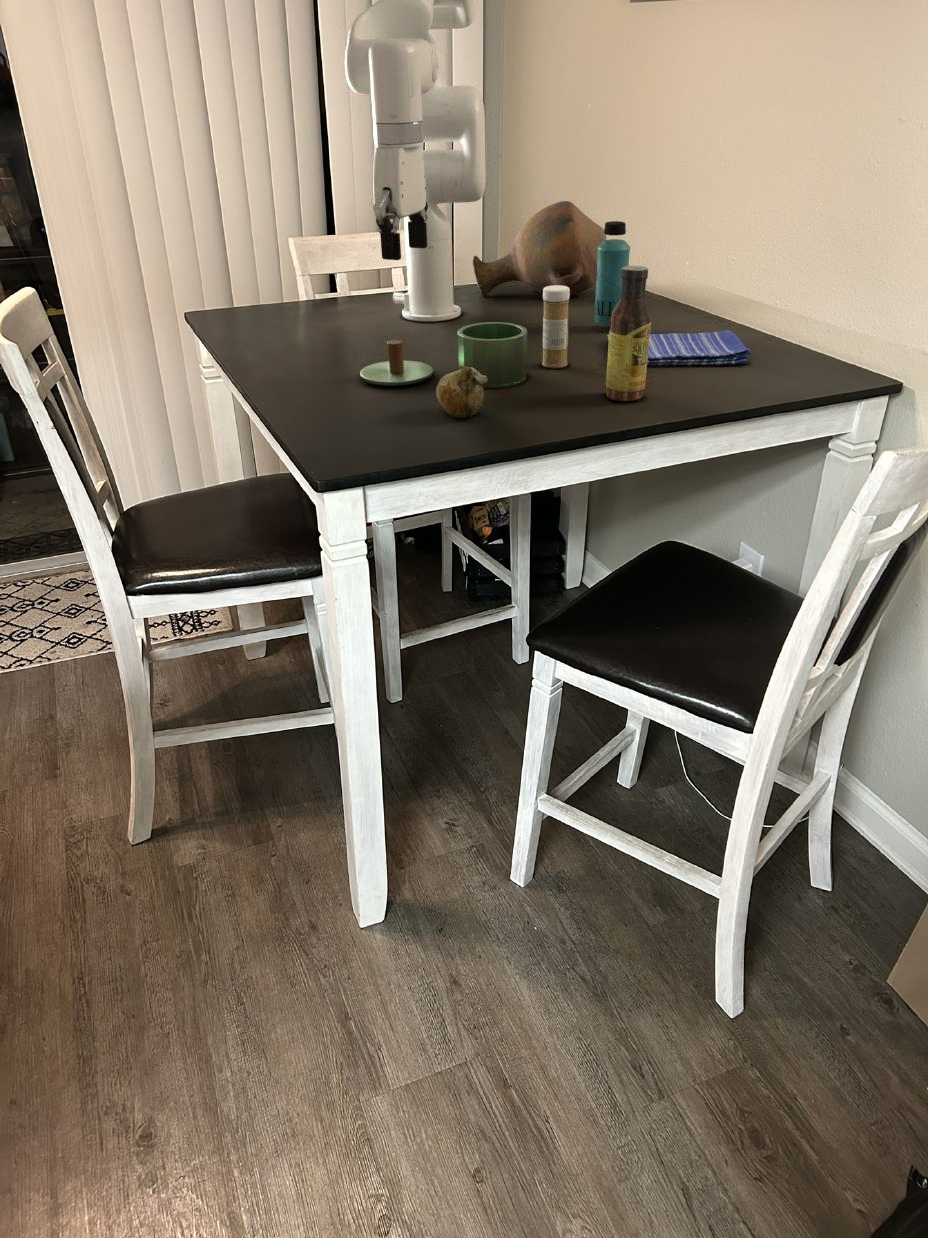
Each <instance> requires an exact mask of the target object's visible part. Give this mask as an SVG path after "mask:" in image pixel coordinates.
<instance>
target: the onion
mask: <svg viewBox="0 0 928 1238" xmlns="http://www.w3.org/2000/svg"><path fill="white" fill-rule="evenodd" d="M461 368H462V369H461V370H459V369H458V370H453V371H451V372H450V373H449V372H448V373H447V374H445V375H443V376H442V377H440V380H439V381H438V383H437V386H436V389H435V393H436V397H437V400H438V402H439V405H441V408H443V409H444V410H445V411H446V413H447V414H448V415H450V416H452V417H454V418H459V419H463V418H469V417H472V416H473V415H475V414H476V413H477V412H478V411H480V410H481V408H482V406H483V404H484V399H485V391H484V389H485V388H482V386H479V384H481V385H483V384H484V383H485V382H487V380H488V378H487V377H486V376H483V375H481V374H480V373H479V372H478V371H477V370H475V369H474V368H473V367H468V366H461ZM478 383H479V384H478Z"/></svg>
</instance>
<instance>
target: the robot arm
mask: <svg viewBox="0 0 928 1238" xmlns="http://www.w3.org/2000/svg"><path fill="white" fill-rule="evenodd" d="M477 6H478V0H378V1H376V2H375V3H374V4H372V5H370V6H369V7H367V8H366V9H365V10H363V11H362V12H361V13H360V14H359V15H357V16H356V18H355V19H354V20H353V21H352V22H351V26H350V29H349V31H348V35H347V41H346V48H345V54H344V72H345V77H346V82H347V83H348V86H349V88H350V89H351V90H352V91H353V92H354V93H355V94H357V95H360V96H371V109H372V123H373V140H374V152H373V153H374V154H373V170H372V171H373V175H372V178H373V179H372V181H373V183H372V184H373V212H374V216H375V222H376V225H377V226H378V233H379V236H380V250H381V259H383V260H385V261H386V260H387V261H399V260H401V259H402V248H401V247H402V246H401V245H402V244H401V233H400V232H398V229H399V227H400V221H401V219H403V223H404V236H405V238H404V239H405V255H406V274H407V275H406V276H407V292H406V293H403V292H393V294H392V301H393V304H396V305H403V306H404V307H403V308H402V311H401V314H402V315H401V316H402V317H403V318H404V319H406V320H410V321H414V322H425V323H426V322H427V323H429V322H432V323H433V322H442V321H449V320H453V319H456V318H458V317H460V316H461V314H462V310H461V309H462V308H461V307H460V306H459V305H457V304H454V272H453V241H452V240H453V239H452V238H453V237H452V226H451V223H450V221H449V219H448V217H447V216H446V214H445V213H444V212H443V211H442V209H441V208H440V207H439V206H438V205H439V204H445V203H446V204H454V203H455V204H456V203H458V204H459V203H460V204H461V203H475V202H478V201H480V200H481V199H482V198H483V197H484V194H485V190H486V184H487V183H486V181H487V180H486V179H487V178H486V177H487V175H486V174H487V171H486V169H487V167H486V118H485V106H484V105H485V104H484V100H483V96H482V94H481V93H480V91H479V90H478V88H476V87H474V86H471V85H447V83H446V66H445V65H446V64H445V63H446V62H445V55H444V53H443V50H442V49H441V47H440V45H439V44H438V42H437V41H436V40H435V38H434V36H432V34H431V33H430V30H452V29H453V30H455V29H465V28H468V27H470V26H471V25H472V24H473V22H474V21H475V18H476V14H477V9H478V8H477ZM451 142H452V143H454V142H455V143H459V144H460V145H461V146H462V149H423V148H422V147H423V146H424V145H425V144H424V143H451ZM391 220H392V221H391Z"/></svg>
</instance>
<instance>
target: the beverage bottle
mask: <svg viewBox="0 0 928 1238" xmlns="http://www.w3.org/2000/svg"><path fill="white" fill-rule="evenodd" d="M626 225H627V224H626V222H624V221H619V220H612V221H610V220H609V221H606V222H605V223H604V228H603V229H604V234H605V235H606V236H623V235H626V234H627V230H626V229H627V228H626ZM630 253H631V246H630V244H629V243H628V242H627V241H626V240H624V239H616V238H612V239H611V238H610V239H606V240H604V241H603V242H602V243H601V244H600V245H599V246H598V260H597V264H596V265H597V267H596V272H597V274H596V276H597V277H596V281H595V290H594V293H595V297H594V305H593V312H594V314H593V320H594V322H595V323H596V324H599V325H603V326H611V316H612V312H613V310H614V308H615V306H616V305H617V304H618V302H619V300H620V298H621V297H620V293H621V283H622V279H621V268H623V267H626V266H630Z"/></svg>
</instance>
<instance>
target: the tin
mask: <svg viewBox="0 0 928 1238" xmlns="http://www.w3.org/2000/svg"><path fill="white" fill-rule="evenodd" d="M457 347H458V348H457V349H458V351H457V352H458V353H457V354H458V370H461V369H462V368H461V366H468V367H473V368H474V369H475V370H477V371H478V372H479V373H480V374H481V375H483V376H486V377H487V378H488V380H487V382H485V383H484V384H483V385H481V384H479V383H478V384H479V386H482V388H483V389H503V388H510V387H514V386H517V385H520V384H522V383H524V382H525V381H526V379H527V375H528V374H527V373H528V330H527V328H526V327H524V326H522V325H520V324H516V323H511V322H502V321H493V322H492V321H491V322H489V321H486V322H485V321H484V322H477V323H471V324H468V325H463V326H462V327H460V328H459V329H458V330H457Z"/></svg>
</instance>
